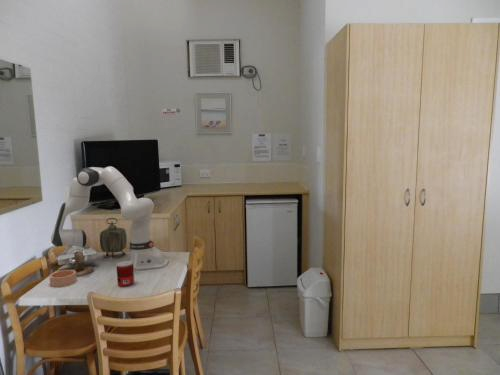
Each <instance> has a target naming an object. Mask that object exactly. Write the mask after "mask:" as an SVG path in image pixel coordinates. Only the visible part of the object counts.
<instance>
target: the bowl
mask: <svg viewBox="0 0 500 375" xmlns="http://www.w3.org/2000/svg"><path fill="white" fill-rule="evenodd" d="M48 276H49V285H50V287H52V288H63V287H64V288H65V287H68V286H70V285H74V284H76V282H77V278H78V277H76V271H74V270H70V269H65V270H58V271H56V272H53V273H51V274H49V275H48Z"/></svg>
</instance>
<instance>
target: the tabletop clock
mask: <svg viewBox="0 0 500 375" xmlns="http://www.w3.org/2000/svg"><path fill="white" fill-rule="evenodd" d="M109 220H115V221H116V222H113V221H111V222H108V221H109ZM118 222H119V221H118V219H117V218H115V217H108V218H107V219H106V224H108V225H109V226H108V227H107V228H105V229H104V230H102V231H100V234H99V245H100V250H101V251H102V252H104V253H105V255H106V256H108V255H109V253H112V255H111V257H112V258H115V255H114V253H119V252H121V253H122V255H123V256H125V255H126V252H124V251H123V250H124V249H125V248H127V245H128V244H127V242H128V238H127V232H126V229H125V228H123V227H117V224H118Z"/></svg>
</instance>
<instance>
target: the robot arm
mask: <svg viewBox="0 0 500 375" xmlns="http://www.w3.org/2000/svg"><path fill="white" fill-rule="evenodd" d="M102 185H103V186H104V185H105V186H106V187H107V189H108V190H109V192H111V193H112V195H113V196H114V198H115V199H116V201H117V202H118V204H119V207H120V215H121V216H122V218H123V219H124V220H126V221H132V222H131V224H130V227H129V241H130V242H129V247H128V248H129V253H130V255H129V261H132V262H133V270H134V271H136V270H137V271H140V270H150V269H160V268H165V267H166V266H167V265H168V264H169V260H168V258H165V256H164V255H165V254H164V252H163V251H161V250H160V249H159V248H158V247H156V246H154V243H155V242H154V240H151V238H150V237H151V236H150V224H151V219H152V218H151V217H152V214H153V211H154V209H155V204H154V202H153V200H152V199H151V198H148V197H141V198H140V197H139V198H137V196H136V195H135V193H134V186H133V185H132V184H131V183H130V182H129V181H128V180H127V178H126V177H125V176H124V175H123V173H121V172H120V170H118V169H117V168H115V167H113V166H111V165H110V166H109V165H108V166H106V167H100V166H99V167H97V166H96V167H95V166H91V167H84V168H82V169H80V170H79V171H78V172H77V174H76V177H74V178H73V179H72V180H71V184H70V188H69V193H68V197H67V200H66V201H65V202H63V203H62V205H61V206H60V209H59V213H58V216H57V219H56V222H55V226H54V229H53V230H52V234H51V237H50V242H51V244H52V245H54V246H55V247H64V246H65V247H66V249H65V250H66V251H65V253H66V254H63V255H59V256H58V257H56V261H57V264H58V265H59V266H62V265H69V264H72V265H75V257H74V253H76V252H83V259H84V263H85V262H88V261H92V260H96V259H98V252H97V251H96V249H93V248H92V247H85V246H86V244H87V234H86V232H85V231H84V230H83V229H78V228H77V229H64V225H65V221H66V218H67V217H68V215H70V214H73V213H74V212H75V213H76V212H80V211H82V210H84V209H85V208H86V207H87V206H88V205H89V203H90V202H89V201H90V196H91V195H90V194H91V189H92V187H96V186H98V187H99V186H102Z"/></svg>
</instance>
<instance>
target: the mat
mask: <svg viewBox="0 0 500 375" xmlns="http://www.w3.org/2000/svg"><path fill="white" fill-rule="evenodd" d="M92 267H93V268H94V271H93V272H92V273H90V274H88V275H84V276H78V277H77V278H89V277H91V276H92V275H93V274H94V273H95V272H97V271H98V270H99V269H100V266H92ZM73 268H74V267H71V268H70V269H73Z"/></svg>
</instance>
